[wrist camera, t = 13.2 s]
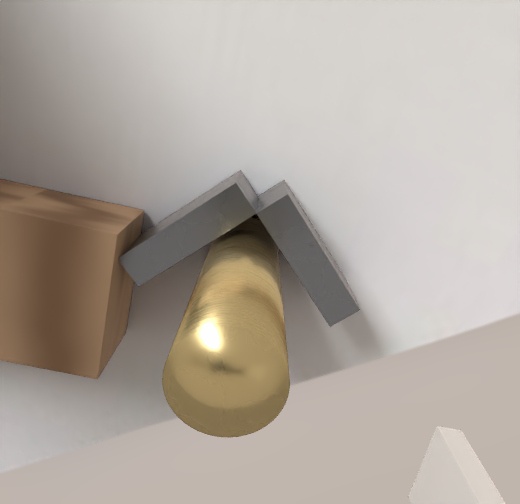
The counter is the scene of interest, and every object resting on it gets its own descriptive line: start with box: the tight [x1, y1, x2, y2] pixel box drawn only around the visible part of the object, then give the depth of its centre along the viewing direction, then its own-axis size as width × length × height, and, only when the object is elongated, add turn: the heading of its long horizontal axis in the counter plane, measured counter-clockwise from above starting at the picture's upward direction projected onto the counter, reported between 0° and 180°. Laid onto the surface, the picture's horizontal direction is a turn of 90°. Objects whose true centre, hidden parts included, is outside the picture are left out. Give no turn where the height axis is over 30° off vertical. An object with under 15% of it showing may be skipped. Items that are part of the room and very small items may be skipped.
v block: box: [118, 170, 360, 326], centre depth 29 cm, size 14×7×5 cm, turn 77°
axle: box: [162, 218, 290, 437], centre depth 24 cm, size 4×4×16 cm
